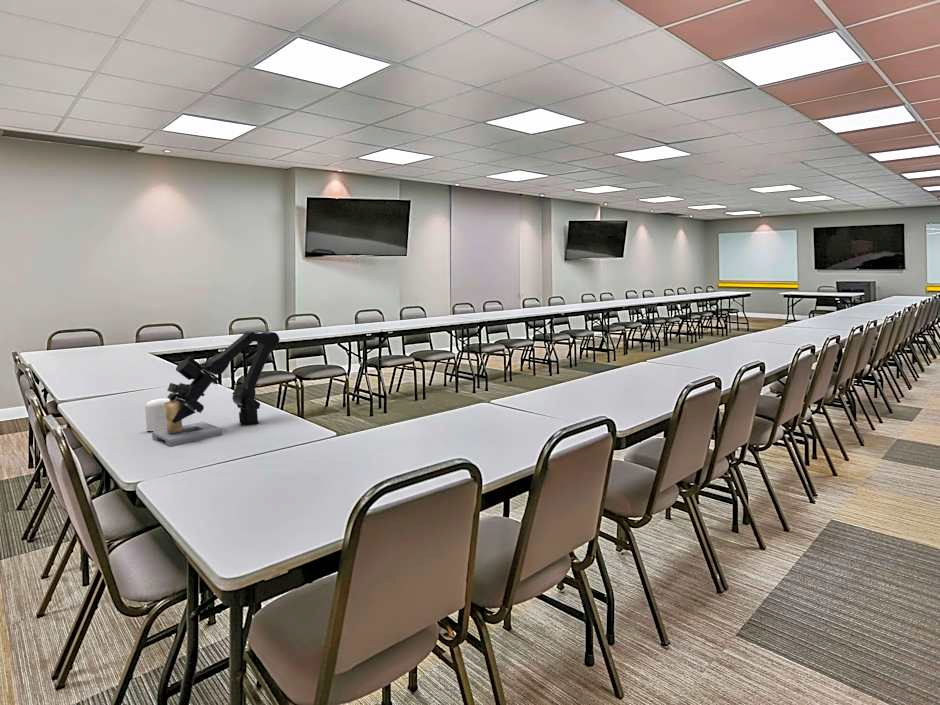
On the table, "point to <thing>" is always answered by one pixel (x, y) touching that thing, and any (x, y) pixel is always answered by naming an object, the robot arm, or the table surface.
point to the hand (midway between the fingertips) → (170, 421)
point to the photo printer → (156, 414)
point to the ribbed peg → (172, 417)
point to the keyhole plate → (188, 433)
